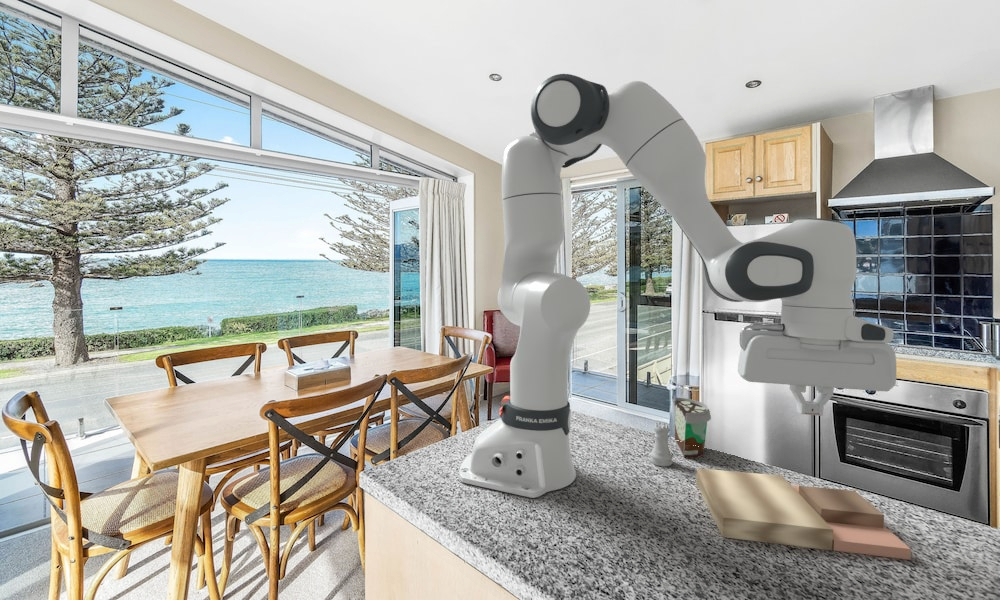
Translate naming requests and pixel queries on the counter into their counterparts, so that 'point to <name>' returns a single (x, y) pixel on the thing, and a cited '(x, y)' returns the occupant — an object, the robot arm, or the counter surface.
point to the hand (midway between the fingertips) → (809, 413)
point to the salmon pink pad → (867, 540)
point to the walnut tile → (842, 506)
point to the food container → (690, 426)
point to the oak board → (762, 509)
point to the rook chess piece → (661, 446)
